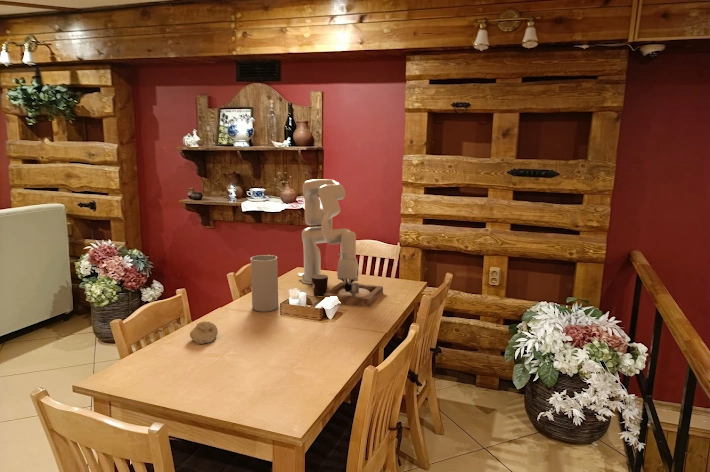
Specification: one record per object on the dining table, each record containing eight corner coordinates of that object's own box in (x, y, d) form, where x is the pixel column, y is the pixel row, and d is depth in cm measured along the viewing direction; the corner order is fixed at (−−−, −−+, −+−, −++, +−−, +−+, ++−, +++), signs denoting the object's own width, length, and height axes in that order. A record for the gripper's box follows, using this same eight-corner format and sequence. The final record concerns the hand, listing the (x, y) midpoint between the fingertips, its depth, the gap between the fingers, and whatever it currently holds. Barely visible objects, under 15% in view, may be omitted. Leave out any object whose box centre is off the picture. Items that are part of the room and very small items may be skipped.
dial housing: (323, 302, 253) (323, 294, 253) (340, 289, 276) (340, 281, 275) (369, 307, 245) (369, 299, 245) (382, 293, 268) (383, 285, 267)
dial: (339, 289, 268) (339, 279, 267) (369, 290, 268) (369, 279, 267) (337, 302, 248) (337, 291, 246) (369, 302, 247) (369, 291, 246)
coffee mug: (327, 297, 261) (327, 278, 259) (311, 297, 261) (310, 278, 259) (329, 290, 272) (329, 273, 271) (313, 290, 273) (313, 272, 271)
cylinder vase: (246, 309, 242) (244, 259, 237) (263, 302, 252) (261, 254, 248) (267, 313, 236) (266, 262, 231) (283, 306, 247) (282, 256, 242)
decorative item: (193, 324, 211) (214, 315, 210) (202, 343, 211) (223, 334, 211) (181, 331, 199) (203, 321, 198) (190, 351, 199) (213, 342, 198)
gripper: (331, 256, 250) (331, 291, 254) (359, 259, 245) (359, 295, 249) (337, 253, 257) (337, 287, 261) (364, 255, 252) (364, 290, 256)
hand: (347, 291), depth 255 cm, fingers closed
